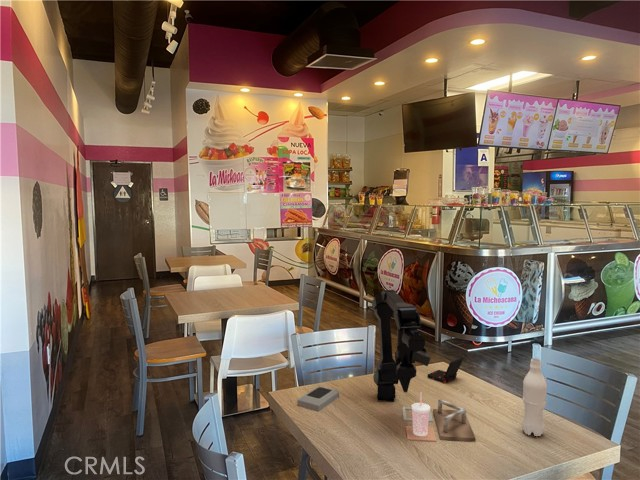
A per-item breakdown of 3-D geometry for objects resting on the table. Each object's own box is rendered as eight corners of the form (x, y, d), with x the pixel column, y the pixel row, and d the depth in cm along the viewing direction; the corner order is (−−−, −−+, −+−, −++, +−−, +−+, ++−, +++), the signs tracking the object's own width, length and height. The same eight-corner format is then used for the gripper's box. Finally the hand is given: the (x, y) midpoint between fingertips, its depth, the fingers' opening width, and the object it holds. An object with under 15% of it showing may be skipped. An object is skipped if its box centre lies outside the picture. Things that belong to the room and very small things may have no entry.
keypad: (297, 396, 179) (318, 383, 192) (297, 406, 179) (318, 392, 192) (318, 402, 174) (339, 388, 187) (318, 412, 174) (339, 398, 187)
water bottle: (520, 435, 157) (523, 361, 154) (522, 426, 163) (525, 355, 161) (544, 440, 153) (547, 365, 151) (545, 431, 160) (548, 358, 157)
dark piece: (438, 372, 213) (439, 350, 212) (463, 380, 204) (463, 357, 203) (426, 378, 207) (427, 355, 206) (451, 386, 198) (451, 362, 197)
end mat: (407, 440, 154) (407, 438, 154) (405, 426, 163) (405, 425, 163) (436, 441, 153) (436, 440, 153) (432, 428, 162) (432, 427, 161)
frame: (403, 420, 167) (403, 419, 167) (402, 408, 177) (402, 407, 177) (432, 422, 166) (432, 421, 166) (429, 409, 176) (429, 408, 176)
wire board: (440, 439, 154) (440, 421, 153) (433, 412, 174) (433, 395, 173) (475, 441, 153) (476, 423, 152) (464, 413, 172) (464, 397, 172)
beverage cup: (408, 434, 157) (408, 392, 155) (415, 426, 162) (415, 386, 161) (425, 439, 153) (426, 397, 152) (432, 431, 158) (433, 390, 157)
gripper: (432, 352, 152) (431, 399, 154) (426, 335, 171) (425, 377, 172) (397, 350, 154) (396, 397, 155) (395, 334, 172) (394, 376, 174)
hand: (404, 386), depth 164 cm, fingers open, 9 cm apart
